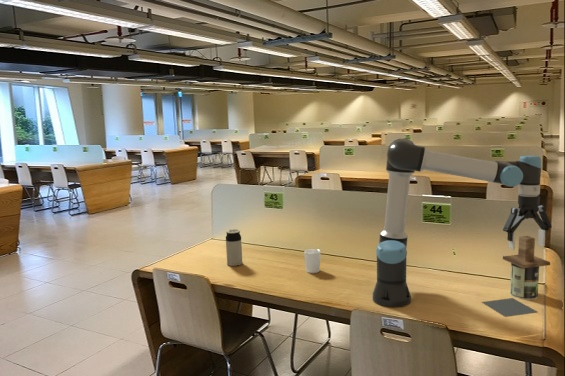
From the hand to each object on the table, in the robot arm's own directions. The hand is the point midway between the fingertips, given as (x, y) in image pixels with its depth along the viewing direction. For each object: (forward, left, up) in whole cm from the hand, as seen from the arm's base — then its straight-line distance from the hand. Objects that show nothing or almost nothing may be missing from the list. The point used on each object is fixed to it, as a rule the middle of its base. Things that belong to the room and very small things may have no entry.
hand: (526, 247), depth 186 cm
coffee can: (-1, 0, -20) cm, 20 cm away
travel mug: (-110, +78, -20) cm, 136 cm away
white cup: (-74, +55, -20) cm, 94 cm away
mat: (-14, -9, -20) cm, 26 cm away
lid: (0, 0, -6) cm, 6 cm away
